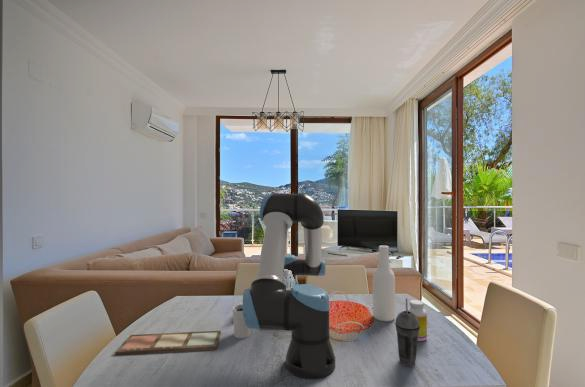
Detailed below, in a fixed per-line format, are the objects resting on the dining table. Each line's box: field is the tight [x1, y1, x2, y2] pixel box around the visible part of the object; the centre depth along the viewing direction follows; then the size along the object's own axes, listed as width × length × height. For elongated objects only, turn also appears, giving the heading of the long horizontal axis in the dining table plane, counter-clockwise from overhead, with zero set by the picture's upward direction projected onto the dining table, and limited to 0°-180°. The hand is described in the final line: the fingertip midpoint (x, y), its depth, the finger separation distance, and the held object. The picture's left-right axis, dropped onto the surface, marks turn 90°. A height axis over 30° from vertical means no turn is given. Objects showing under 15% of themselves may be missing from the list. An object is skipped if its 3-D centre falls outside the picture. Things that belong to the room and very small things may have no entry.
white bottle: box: [372, 244, 396, 323], centre depth 129 cm, size 9×9×30 cm
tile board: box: [115, 330, 222, 356], centre depth 108 cm, size 12×32×1 cm, turn 96°
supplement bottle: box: [408, 299, 428, 342], centre depth 112 cm, size 7×7×13 cm
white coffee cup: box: [232, 304, 251, 339], centre depth 114 cm, size 7×7×10 cm
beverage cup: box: [394, 298, 420, 367], centre depth 96 cm, size 7×7×20 cm
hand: (254, 309), depth 123 cm, fingers open, 13 cm apart
